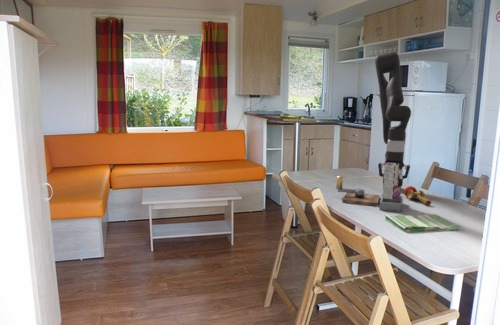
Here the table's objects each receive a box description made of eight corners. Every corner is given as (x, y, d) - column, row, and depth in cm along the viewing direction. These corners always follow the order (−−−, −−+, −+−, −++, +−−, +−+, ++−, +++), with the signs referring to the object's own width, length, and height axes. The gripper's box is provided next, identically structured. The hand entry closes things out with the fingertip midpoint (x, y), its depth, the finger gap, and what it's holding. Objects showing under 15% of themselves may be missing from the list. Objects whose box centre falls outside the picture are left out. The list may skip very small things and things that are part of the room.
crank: (364, 195, 199) (365, 177, 197) (363, 197, 194) (364, 179, 193) (336, 192, 203) (337, 175, 202) (335, 194, 199) (336, 177, 198)
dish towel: (461, 231, 156) (461, 225, 155) (405, 234, 152) (405, 227, 152) (433, 217, 173) (434, 211, 173) (382, 219, 170) (383, 213, 169)
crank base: (379, 197, 202) (379, 194, 202) (377, 206, 187) (377, 202, 187) (346, 194, 207) (347, 191, 207) (342, 202, 193) (342, 199, 192)
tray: (402, 203, 192) (402, 196, 192) (402, 212, 178) (402, 204, 177) (381, 201, 196) (381, 194, 195) (379, 209, 181) (379, 202, 181)
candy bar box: (390, 193, 192) (392, 159, 189) (400, 195, 189) (403, 161, 186) (381, 198, 183) (384, 162, 180) (392, 200, 180) (395, 164, 177)
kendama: (436, 208, 191) (414, 193, 207) (436, 196, 188) (414, 182, 205) (421, 211, 190) (400, 196, 206) (421, 199, 187) (400, 185, 204)
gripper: (412, 150, 183) (409, 186, 186) (379, 148, 188) (376, 183, 191) (412, 152, 176) (409, 189, 179) (378, 150, 181) (375, 186, 184)
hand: (392, 186), depth 185 cm, fingers closed on candy bar box, 5 cm apart
